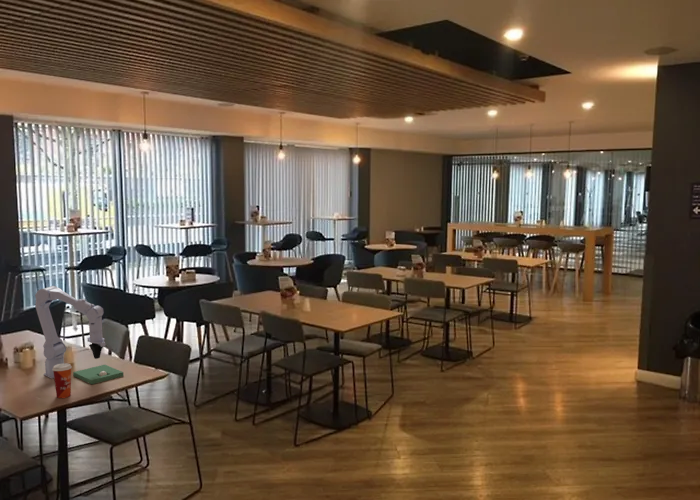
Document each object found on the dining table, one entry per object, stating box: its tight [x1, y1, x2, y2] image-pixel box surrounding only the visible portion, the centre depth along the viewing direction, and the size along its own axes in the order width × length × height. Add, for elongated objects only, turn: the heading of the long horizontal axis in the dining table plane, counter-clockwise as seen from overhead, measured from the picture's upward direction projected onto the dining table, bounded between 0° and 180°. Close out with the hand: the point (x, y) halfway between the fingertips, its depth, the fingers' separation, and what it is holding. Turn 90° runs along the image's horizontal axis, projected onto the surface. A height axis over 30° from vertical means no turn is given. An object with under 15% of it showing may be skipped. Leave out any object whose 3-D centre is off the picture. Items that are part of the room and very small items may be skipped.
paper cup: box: [52, 362, 73, 399], centre depth 258 cm, size 8×8×14 cm
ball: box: [99, 371, 107, 377], centre depth 282 cm, size 4×4×4 cm
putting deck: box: [72, 364, 124, 385], centre depth 286 cm, size 19×16×2 cm
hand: (97, 358), depth 284 cm, fingers closed
